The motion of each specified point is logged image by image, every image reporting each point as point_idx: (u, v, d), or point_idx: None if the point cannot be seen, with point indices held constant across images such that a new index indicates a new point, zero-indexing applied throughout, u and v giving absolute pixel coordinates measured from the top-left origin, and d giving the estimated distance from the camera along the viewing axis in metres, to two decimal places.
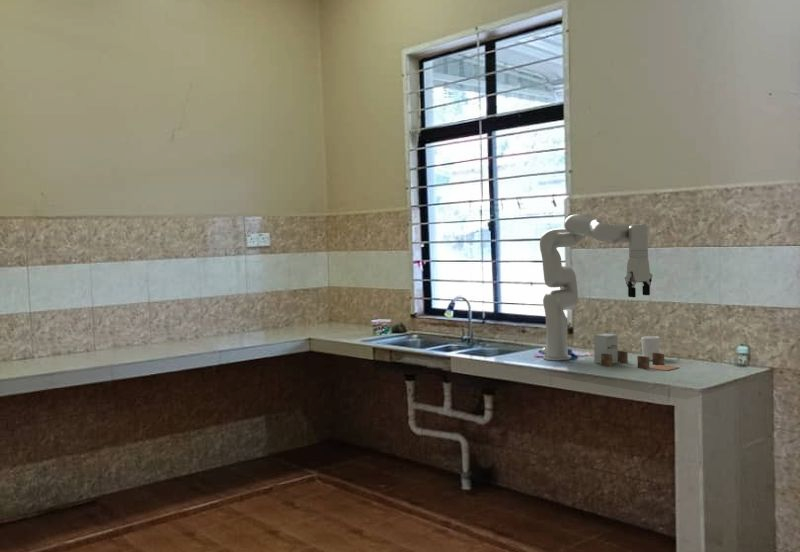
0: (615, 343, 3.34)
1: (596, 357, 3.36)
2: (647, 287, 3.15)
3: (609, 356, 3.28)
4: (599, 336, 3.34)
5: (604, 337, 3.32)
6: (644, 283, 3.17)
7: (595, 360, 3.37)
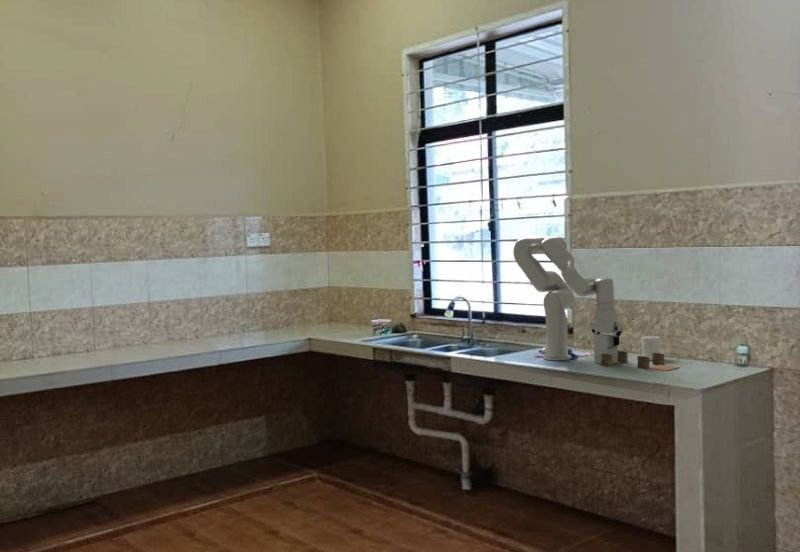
0: None
1: (596, 357, 3.36)
2: None
3: (609, 356, 3.28)
4: (599, 336, 3.34)
5: (604, 337, 3.32)
6: (596, 333, 3.39)
7: (595, 360, 3.37)
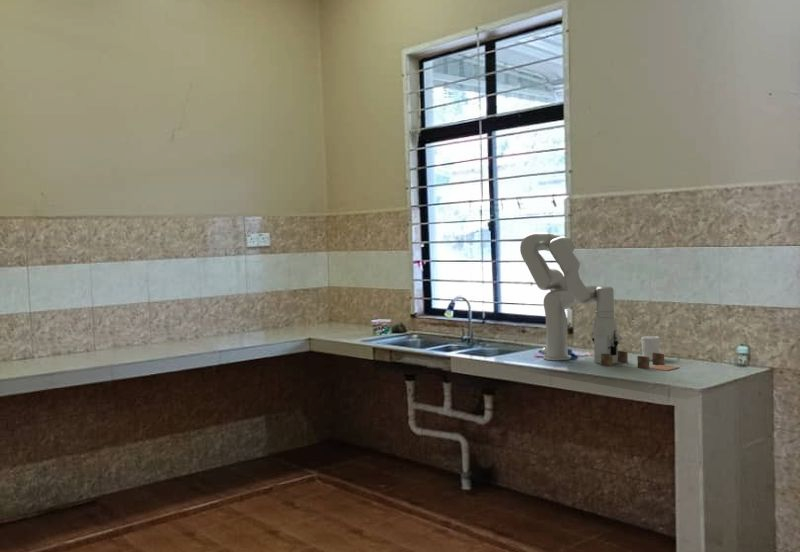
0: None
1: (596, 357, 3.36)
2: None
3: (609, 356, 3.28)
4: (599, 336, 3.34)
5: (604, 337, 3.32)
6: None
7: (595, 360, 3.37)
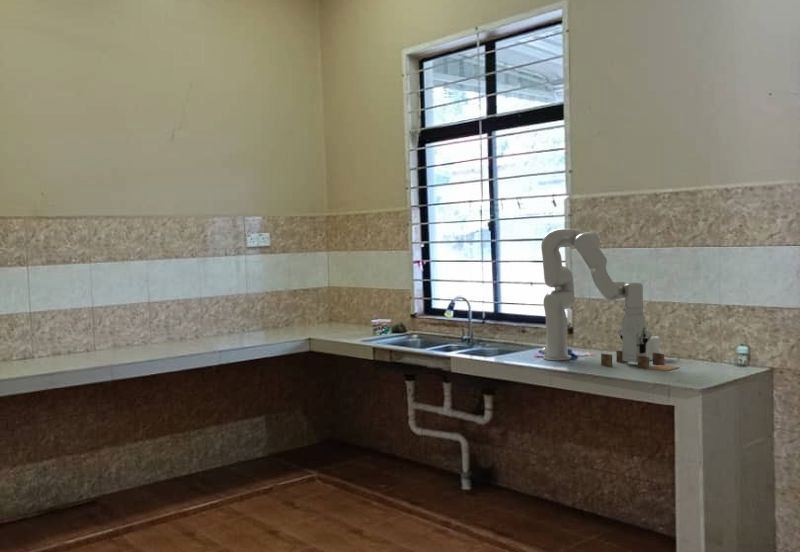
0: None
1: (624, 355, 3.28)
2: None
3: (609, 356, 3.28)
4: (628, 333, 3.26)
5: (633, 334, 3.24)
6: None
7: (623, 358, 3.29)
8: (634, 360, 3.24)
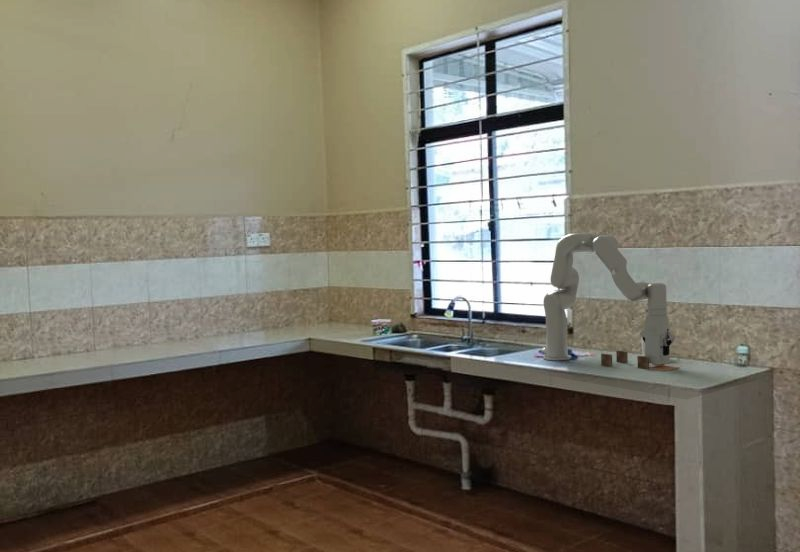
0: None
1: None
2: None
3: (609, 356, 3.28)
4: (651, 335, 3.19)
5: (656, 336, 3.17)
6: None
7: None
8: (657, 362, 3.17)
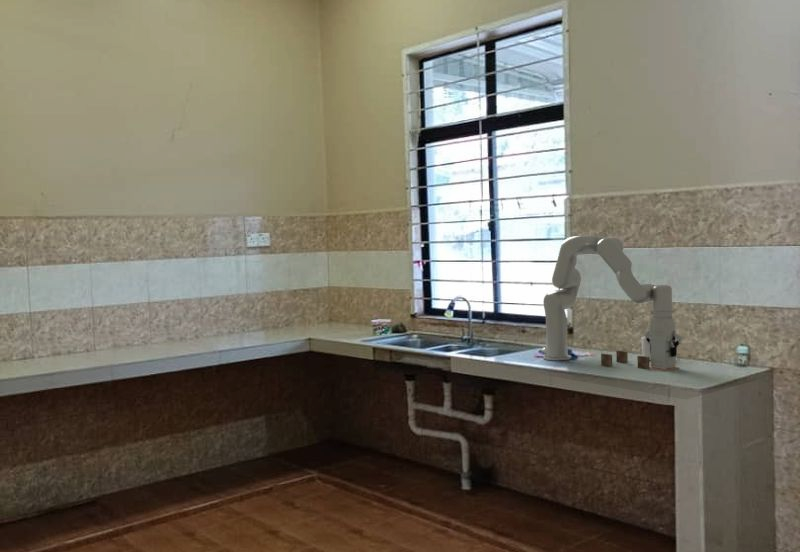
0: None
1: (653, 361, 3.19)
2: None
3: (609, 356, 3.28)
4: (656, 339, 3.17)
5: (662, 340, 3.15)
6: None
7: (652, 364, 3.20)
8: (663, 367, 3.15)
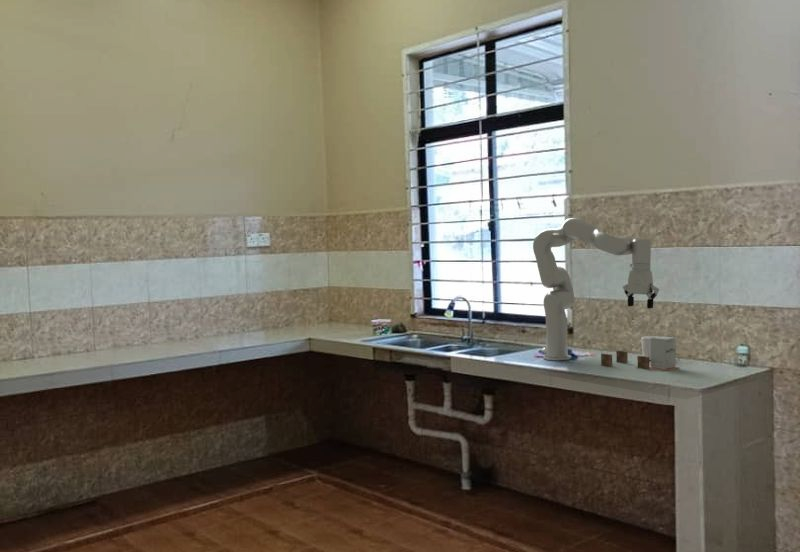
0: (673, 346, 3.17)
1: (653, 361, 3.19)
2: (633, 298, 3.29)
3: (609, 356, 3.28)
4: (656, 339, 3.17)
5: (662, 340, 3.15)
6: None
7: (652, 364, 3.20)
8: (663, 367, 3.15)
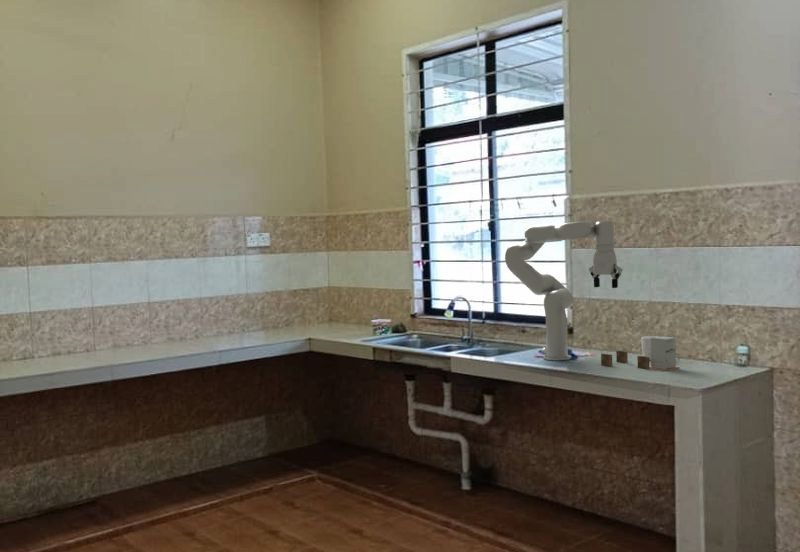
0: (673, 346, 3.17)
1: (653, 361, 3.19)
2: (598, 279, 3.41)
3: (609, 356, 3.28)
4: (656, 339, 3.17)
5: (662, 340, 3.15)
6: None
7: (652, 364, 3.20)
8: (663, 367, 3.15)
